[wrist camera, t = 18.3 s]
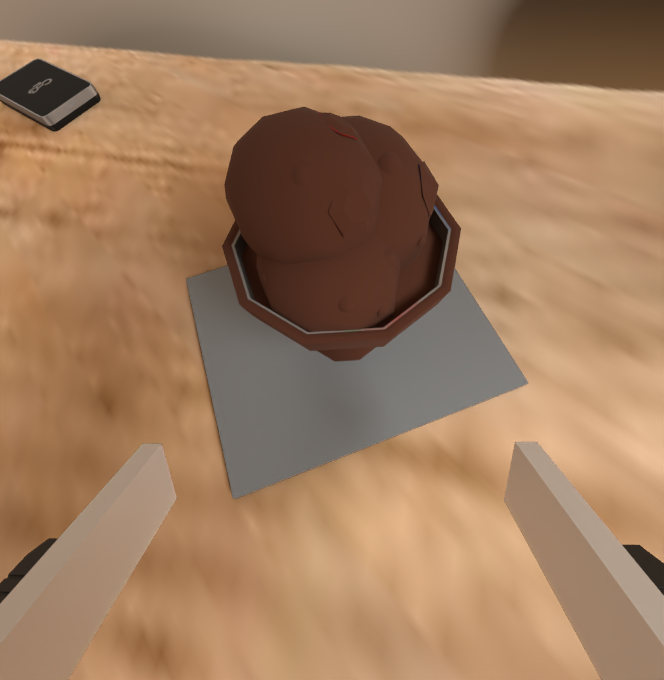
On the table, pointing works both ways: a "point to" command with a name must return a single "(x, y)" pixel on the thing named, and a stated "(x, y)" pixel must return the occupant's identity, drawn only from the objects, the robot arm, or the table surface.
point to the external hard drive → (47, 94)
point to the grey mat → (336, 382)
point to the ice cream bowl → (336, 231)
